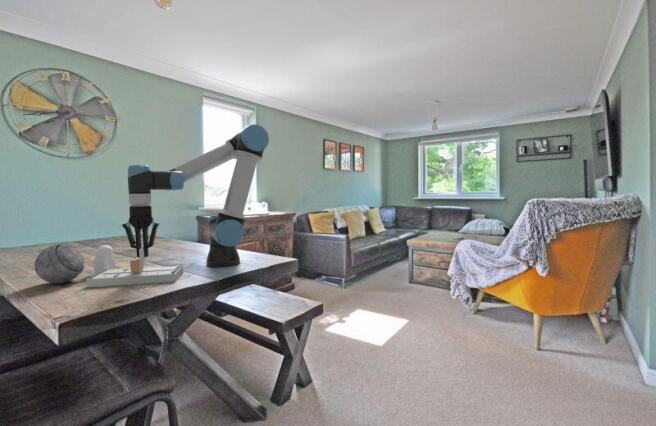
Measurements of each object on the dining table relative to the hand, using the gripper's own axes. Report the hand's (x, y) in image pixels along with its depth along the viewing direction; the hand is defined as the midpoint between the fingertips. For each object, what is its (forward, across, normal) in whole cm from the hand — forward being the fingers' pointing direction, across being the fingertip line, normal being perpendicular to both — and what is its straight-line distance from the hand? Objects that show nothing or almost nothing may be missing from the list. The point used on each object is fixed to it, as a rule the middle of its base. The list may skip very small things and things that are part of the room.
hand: (143, 265), depth 130 cm
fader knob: (+2, +2, 0) cm, 3 cm away
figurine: (+6, +20, -15) cm, 26 cm away
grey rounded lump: (+6, +30, -3) cm, 31 cm away
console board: (+6, +2, 0) cm, 6 cm away
